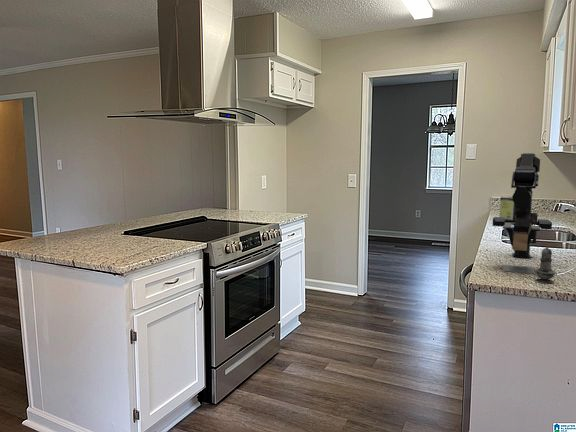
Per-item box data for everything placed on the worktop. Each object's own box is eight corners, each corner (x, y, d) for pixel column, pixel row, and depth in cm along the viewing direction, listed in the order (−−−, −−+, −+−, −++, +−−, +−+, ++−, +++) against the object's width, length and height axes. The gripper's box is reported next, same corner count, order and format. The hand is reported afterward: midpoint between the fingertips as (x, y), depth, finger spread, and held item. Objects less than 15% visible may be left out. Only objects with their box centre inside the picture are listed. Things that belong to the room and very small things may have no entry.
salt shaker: (547, 279, 150) (550, 244, 149) (558, 283, 144) (561, 247, 143) (530, 279, 150) (533, 244, 148) (540, 284, 144) (543, 247, 142)
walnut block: (512, 247, 165) (513, 231, 164) (525, 248, 163) (526, 232, 162) (512, 249, 160) (513, 233, 160) (526, 250, 159) (528, 234, 158)
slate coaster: (502, 265, 169) (502, 264, 169) (531, 268, 165) (531, 267, 165) (503, 271, 160) (503, 270, 160) (534, 274, 156) (534, 273, 156)
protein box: (508, 219, 303) (509, 196, 301) (530, 222, 289) (532, 198, 287) (498, 220, 298) (500, 197, 296) (520, 223, 284) (522, 198, 282)
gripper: (494, 204, 156) (491, 248, 158) (555, 207, 148) (552, 253, 151) (493, 201, 166) (491, 242, 168) (551, 204, 159) (547, 247, 161)
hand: (519, 246), depth 162 cm, fingers closed on walnut block, 4 cm apart
